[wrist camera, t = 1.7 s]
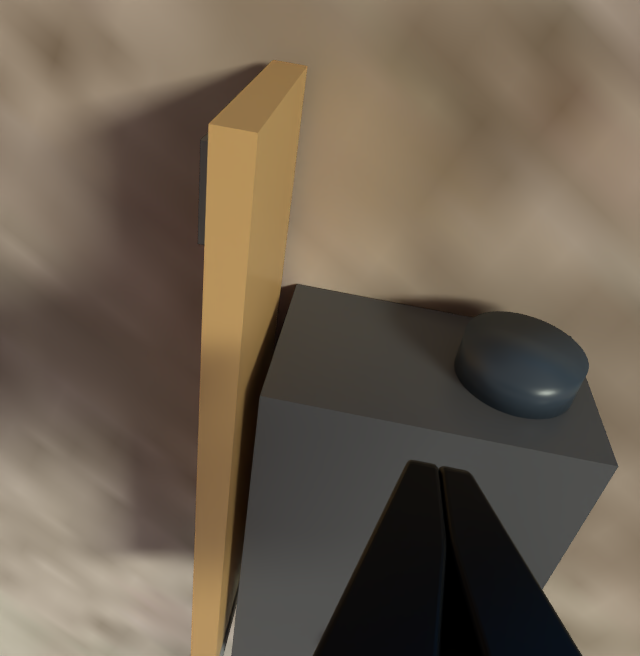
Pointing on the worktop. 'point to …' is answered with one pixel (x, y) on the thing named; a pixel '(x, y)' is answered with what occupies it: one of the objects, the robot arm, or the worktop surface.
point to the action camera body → (405, 445)
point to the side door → (238, 321)
